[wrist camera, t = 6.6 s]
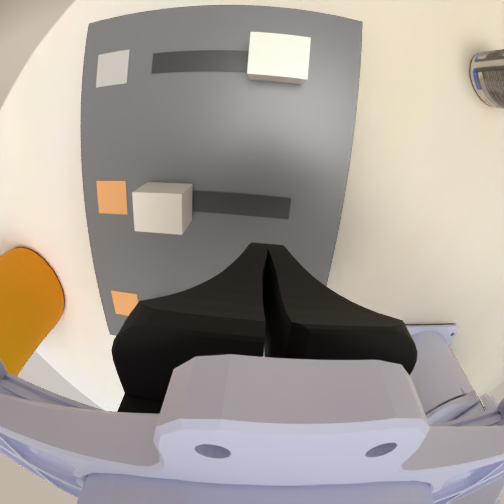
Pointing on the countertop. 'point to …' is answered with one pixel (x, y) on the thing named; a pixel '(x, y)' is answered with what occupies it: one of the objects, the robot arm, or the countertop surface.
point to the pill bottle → (489, 77)
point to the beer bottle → (26, 305)
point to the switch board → (212, 144)
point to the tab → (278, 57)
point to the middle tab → (162, 207)
